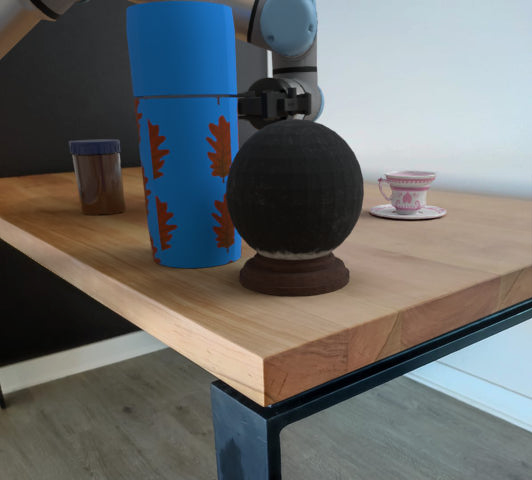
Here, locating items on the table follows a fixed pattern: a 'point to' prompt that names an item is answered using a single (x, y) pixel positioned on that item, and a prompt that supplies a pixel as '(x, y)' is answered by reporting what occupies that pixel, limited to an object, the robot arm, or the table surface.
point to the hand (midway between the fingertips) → (212, 107)
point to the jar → (99, 183)
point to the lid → (94, 146)
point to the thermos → (186, 127)
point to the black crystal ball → (294, 207)
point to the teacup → (408, 196)
